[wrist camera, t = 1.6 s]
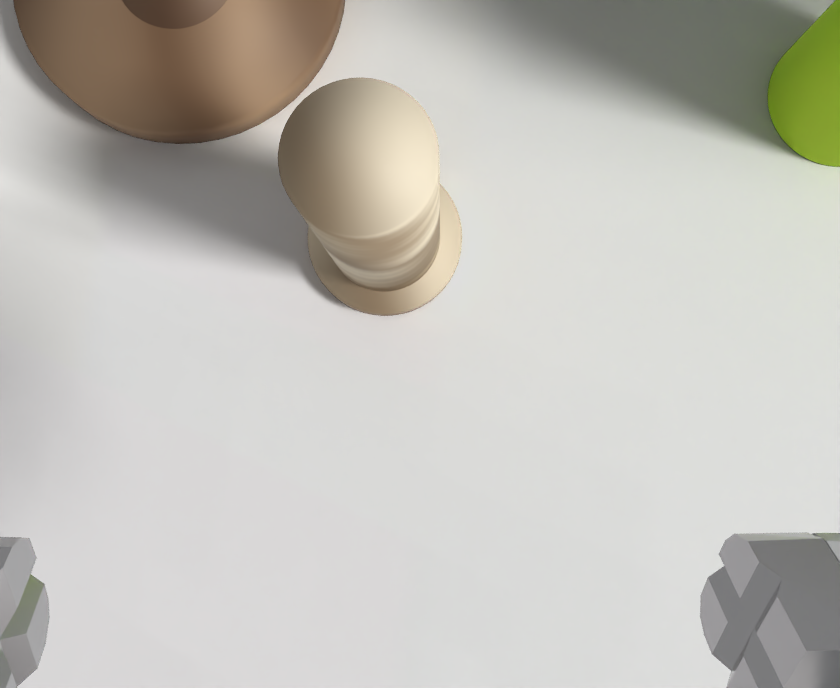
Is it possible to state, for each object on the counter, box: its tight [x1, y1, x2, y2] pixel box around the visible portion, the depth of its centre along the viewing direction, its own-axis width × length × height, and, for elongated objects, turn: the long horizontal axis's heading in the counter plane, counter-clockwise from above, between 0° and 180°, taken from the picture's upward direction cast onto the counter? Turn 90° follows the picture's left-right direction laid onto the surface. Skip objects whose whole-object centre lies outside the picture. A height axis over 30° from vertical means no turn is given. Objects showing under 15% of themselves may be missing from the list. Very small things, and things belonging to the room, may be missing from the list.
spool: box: [278, 78, 462, 316], centre depth 28 cm, size 6×6×11 cm
